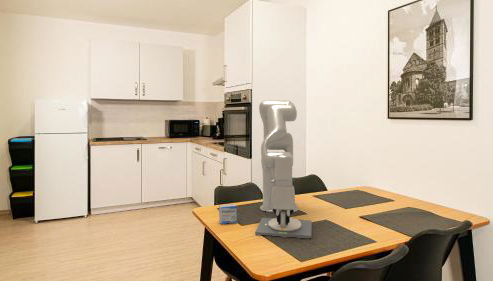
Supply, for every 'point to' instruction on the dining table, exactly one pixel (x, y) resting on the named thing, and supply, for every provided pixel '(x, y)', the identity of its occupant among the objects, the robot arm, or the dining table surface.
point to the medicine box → (227, 213)
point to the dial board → (300, 233)
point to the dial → (284, 223)
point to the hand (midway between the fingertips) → (283, 223)
